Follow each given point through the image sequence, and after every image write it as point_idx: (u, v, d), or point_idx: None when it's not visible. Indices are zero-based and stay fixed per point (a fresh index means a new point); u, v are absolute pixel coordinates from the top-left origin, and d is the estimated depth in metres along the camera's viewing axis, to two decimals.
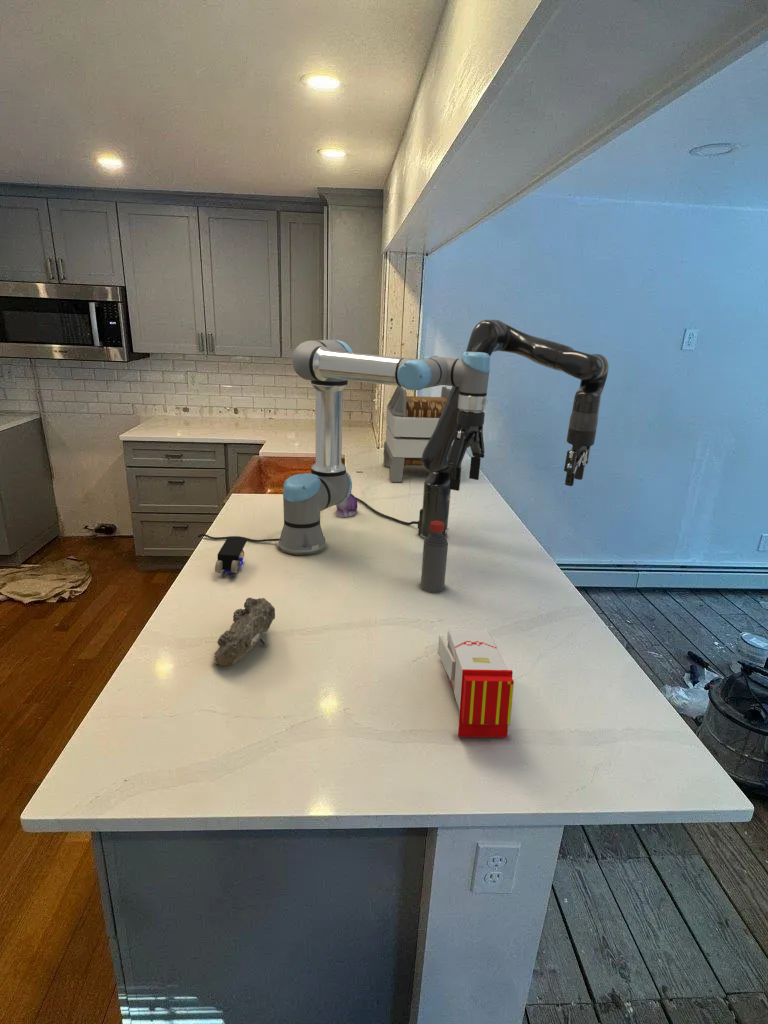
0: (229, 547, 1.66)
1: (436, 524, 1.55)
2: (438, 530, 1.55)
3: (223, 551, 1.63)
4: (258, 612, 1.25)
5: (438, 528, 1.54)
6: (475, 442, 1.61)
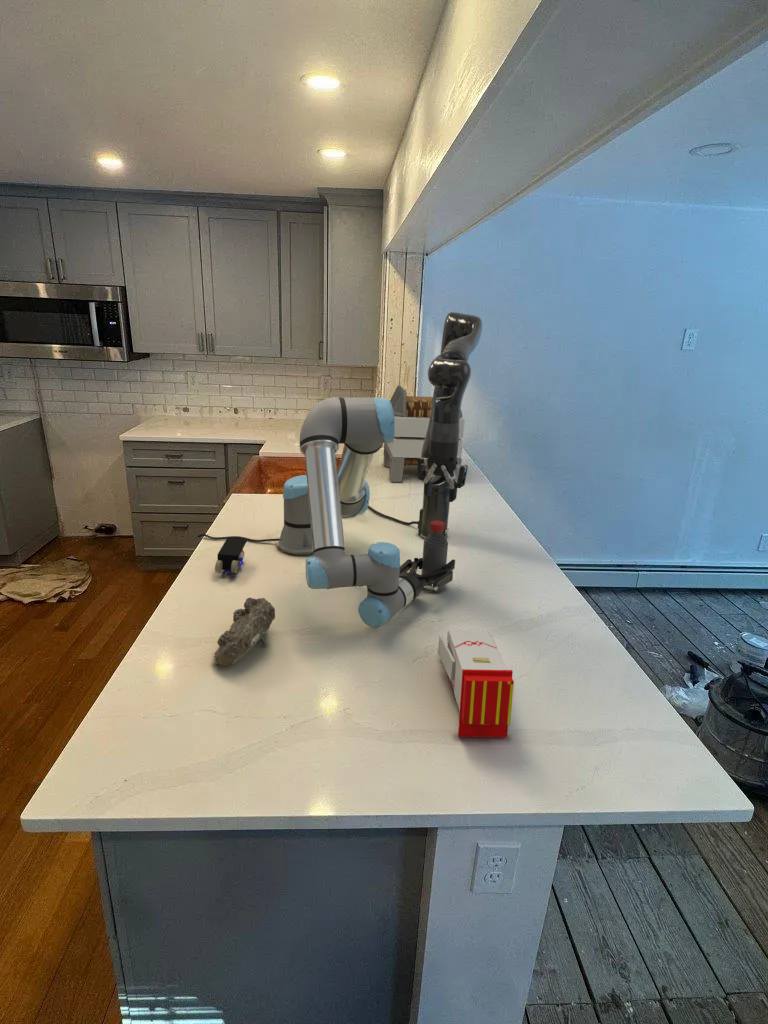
0: (229, 547, 1.66)
1: (436, 524, 1.55)
2: (438, 530, 1.55)
3: (223, 551, 1.63)
4: (258, 612, 1.25)
5: (438, 528, 1.54)
6: None
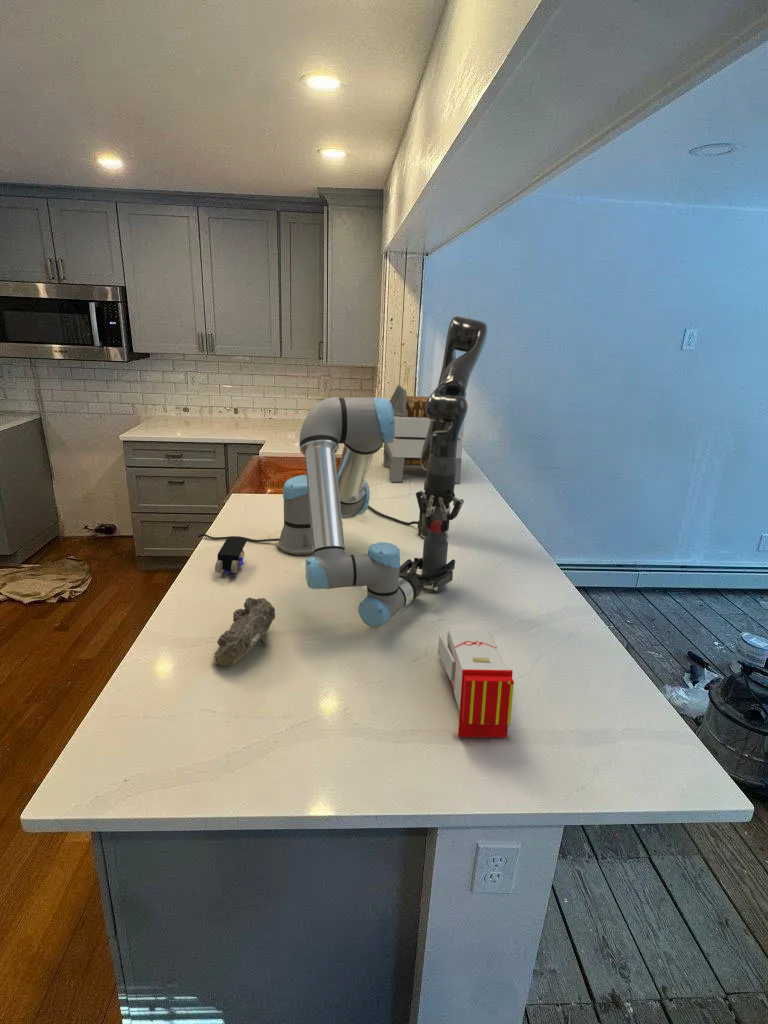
0: (229, 547, 1.66)
1: (436, 524, 1.55)
2: (438, 530, 1.55)
3: (223, 551, 1.63)
4: (258, 612, 1.25)
5: (438, 528, 1.54)
6: None
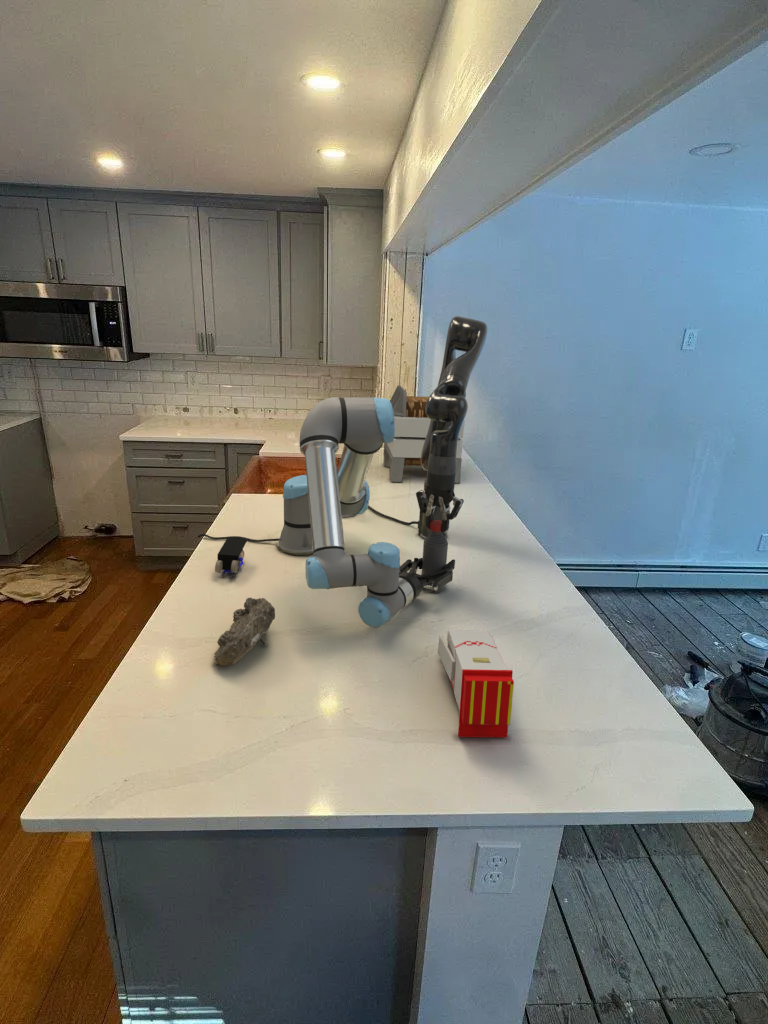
0: (229, 547, 1.66)
1: (441, 523, 1.56)
2: None
3: (223, 551, 1.63)
4: (258, 612, 1.25)
5: None
6: None
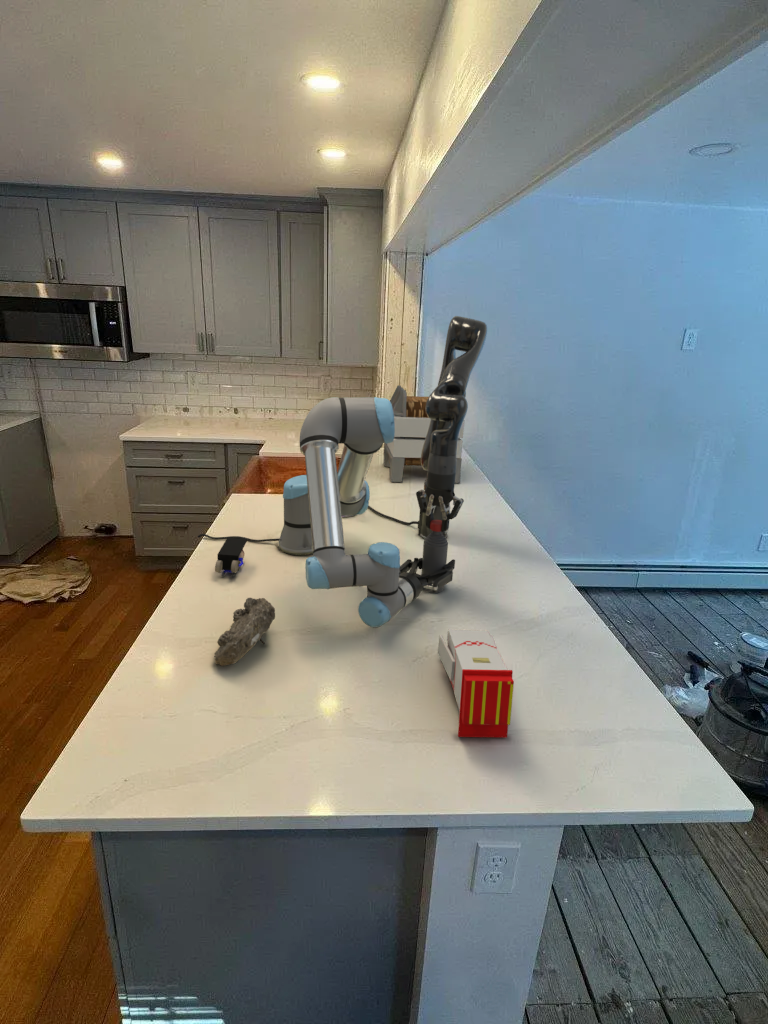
0: (229, 547, 1.66)
1: (437, 520, 1.57)
2: None
3: (223, 551, 1.63)
4: (258, 612, 1.25)
5: None
6: None
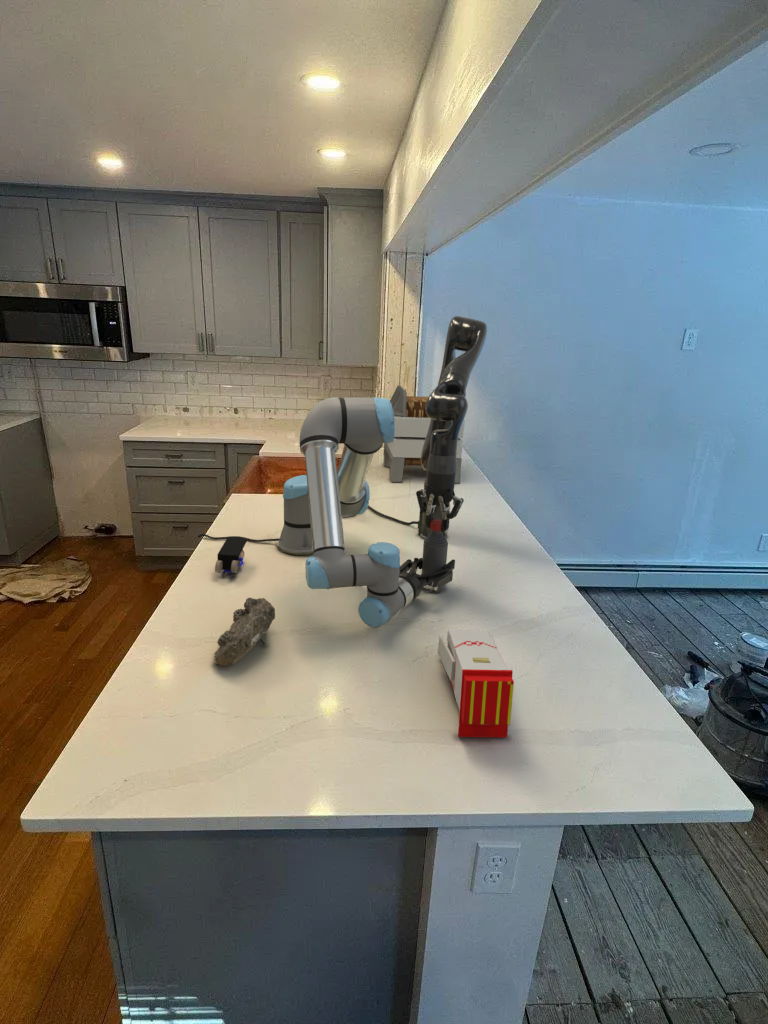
0: (229, 547, 1.66)
1: (433, 521, 1.56)
2: (431, 528, 1.55)
3: (223, 551, 1.63)
4: (258, 612, 1.25)
5: (431, 525, 1.55)
6: None
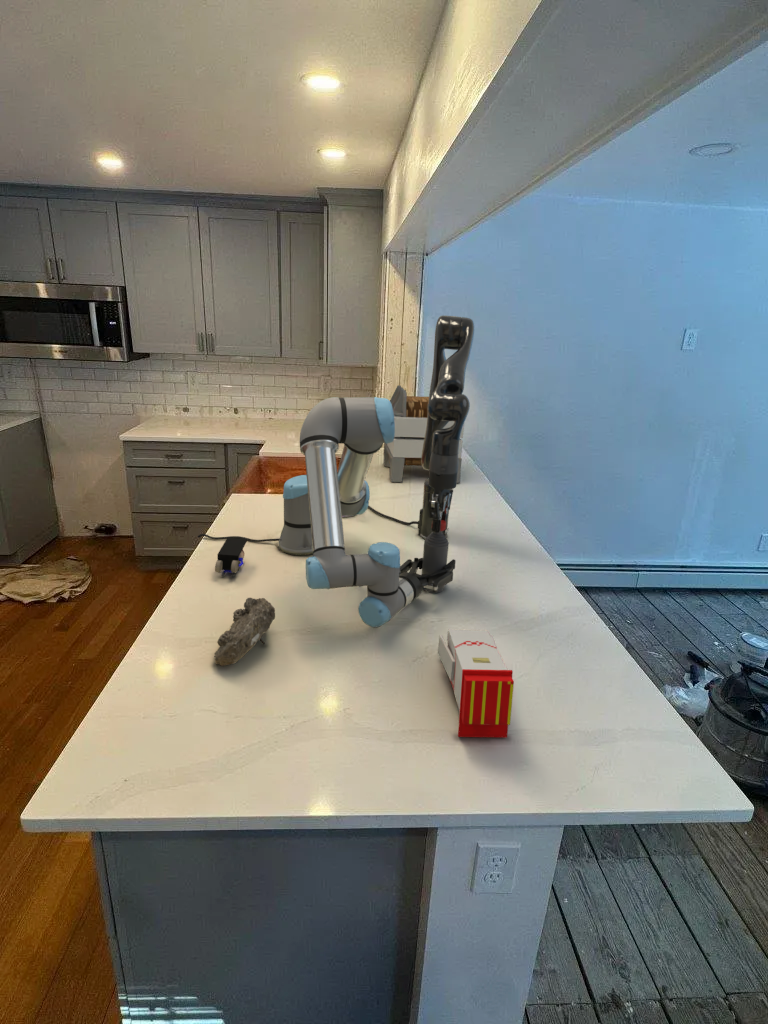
0: (229, 547, 1.66)
1: None
2: (443, 529, 1.55)
3: (223, 551, 1.63)
4: (258, 612, 1.25)
5: (443, 526, 1.55)
6: None
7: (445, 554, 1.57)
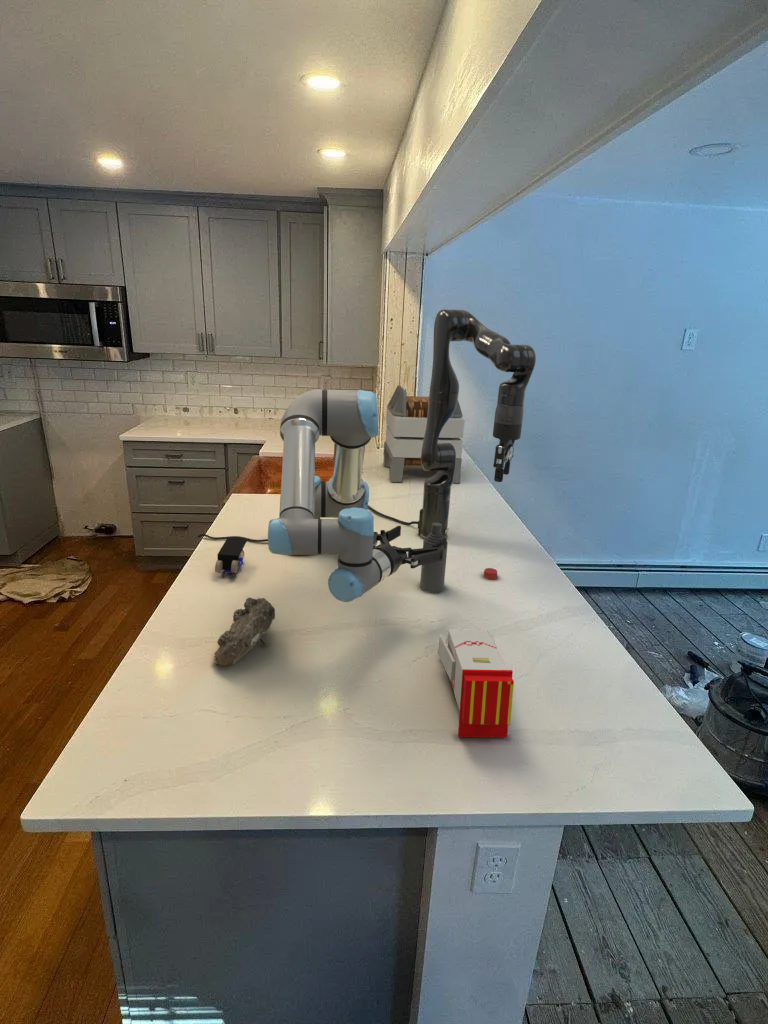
0: (229, 547, 1.66)
1: (492, 572, 1.69)
2: (495, 577, 1.69)
3: (223, 551, 1.63)
4: (258, 612, 1.25)
5: (495, 575, 1.69)
6: None
7: (444, 554, 1.57)
